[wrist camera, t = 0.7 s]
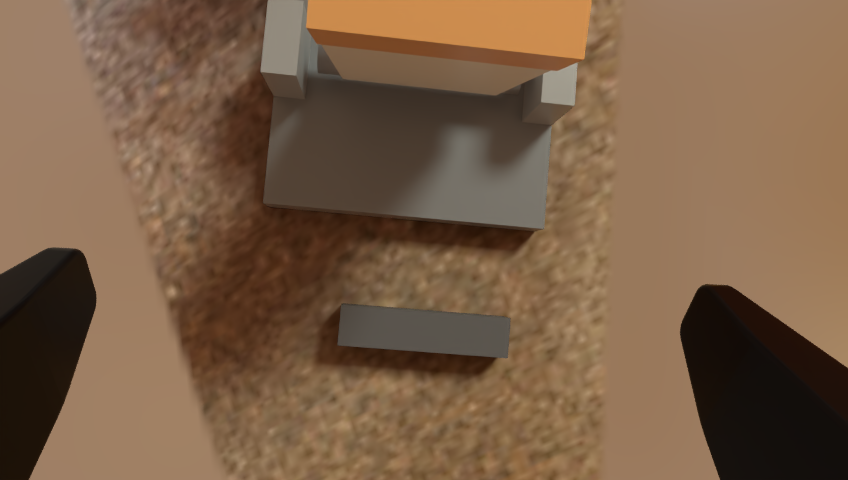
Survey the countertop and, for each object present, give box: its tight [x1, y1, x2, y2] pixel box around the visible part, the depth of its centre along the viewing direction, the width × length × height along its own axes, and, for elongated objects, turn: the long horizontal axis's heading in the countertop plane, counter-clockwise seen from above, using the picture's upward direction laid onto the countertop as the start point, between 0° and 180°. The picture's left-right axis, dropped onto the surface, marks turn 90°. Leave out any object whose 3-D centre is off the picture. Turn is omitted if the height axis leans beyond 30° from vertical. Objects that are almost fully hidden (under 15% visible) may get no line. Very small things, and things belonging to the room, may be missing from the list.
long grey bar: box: [338, 304, 510, 358], centre depth 22 cm, size 6×1×1 cm, turn 85°
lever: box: [306, 0, 592, 95], centre depth 16 cm, size 2×7×11 cm, turn 85°
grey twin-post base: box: [260, 0, 578, 231], centre depth 22 cm, size 12×10×4 cm
